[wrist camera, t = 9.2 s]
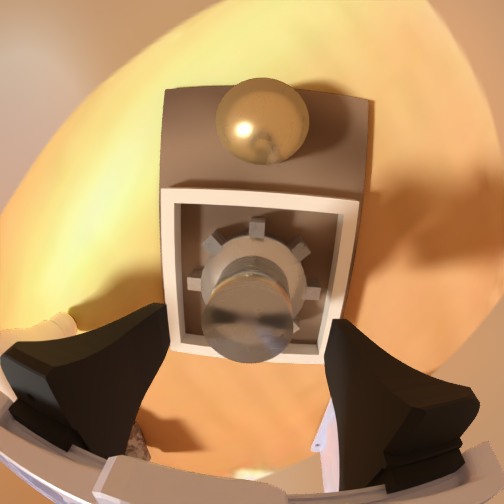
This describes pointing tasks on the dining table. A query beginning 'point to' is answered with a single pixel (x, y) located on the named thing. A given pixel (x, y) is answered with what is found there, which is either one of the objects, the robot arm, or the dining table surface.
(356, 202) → the carrier pocket
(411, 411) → the robot arm
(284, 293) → the planet gear
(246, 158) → the golden brown dome
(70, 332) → the lightbulb
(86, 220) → the dining table surface
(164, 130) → the carrier board
